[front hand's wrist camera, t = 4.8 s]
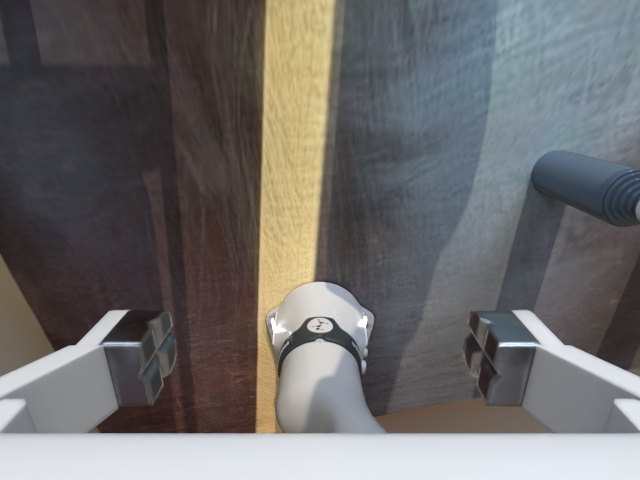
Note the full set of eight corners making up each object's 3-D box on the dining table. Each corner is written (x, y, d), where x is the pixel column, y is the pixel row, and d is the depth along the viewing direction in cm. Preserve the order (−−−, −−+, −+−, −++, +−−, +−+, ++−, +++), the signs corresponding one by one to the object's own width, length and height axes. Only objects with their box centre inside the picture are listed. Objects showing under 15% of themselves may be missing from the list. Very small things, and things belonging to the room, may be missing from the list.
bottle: (525, 164, 57) (628, 200, 38) (569, 141, 55) (698, 166, 36) (539, 201, 59) (643, 254, 40) (582, 180, 57) (710, 224, 39)
